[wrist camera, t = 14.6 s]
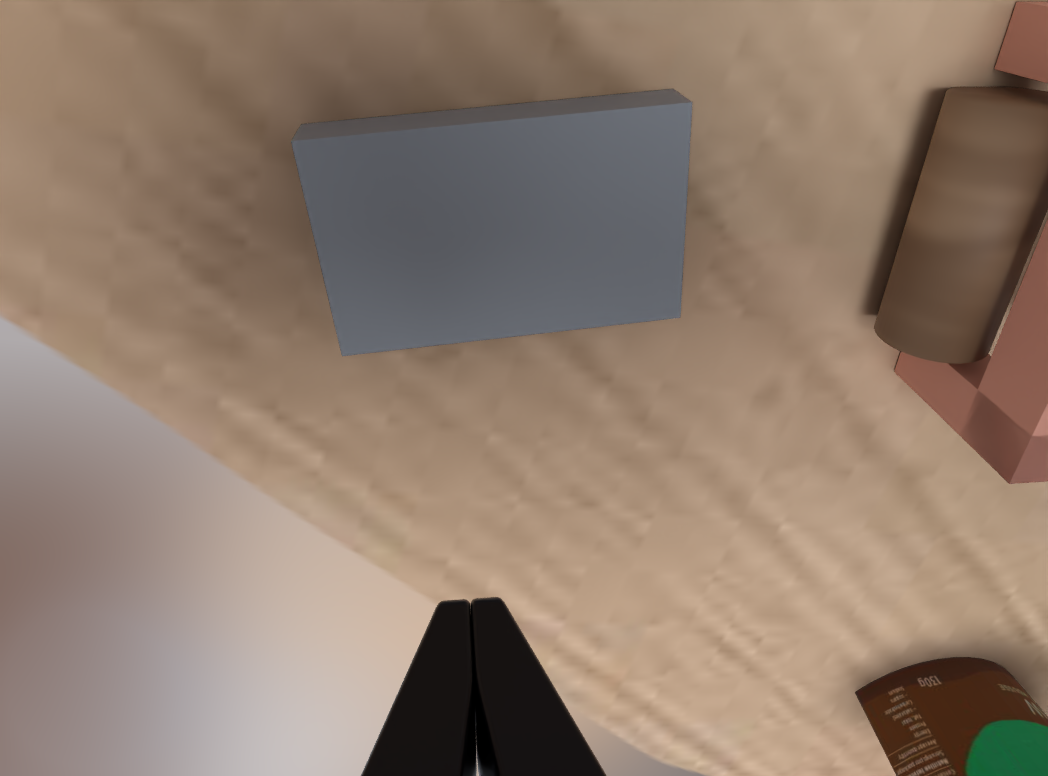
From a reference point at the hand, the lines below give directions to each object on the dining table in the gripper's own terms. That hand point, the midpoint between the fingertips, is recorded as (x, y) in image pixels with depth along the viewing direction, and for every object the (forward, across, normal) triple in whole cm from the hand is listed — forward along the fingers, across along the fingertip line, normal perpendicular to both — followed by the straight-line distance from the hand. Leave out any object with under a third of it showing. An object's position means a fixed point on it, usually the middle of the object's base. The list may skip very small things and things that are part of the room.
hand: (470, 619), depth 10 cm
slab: (+12, -1, -1) cm, 12 cm away
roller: (+9, -14, -1) cm, 16 cm away
